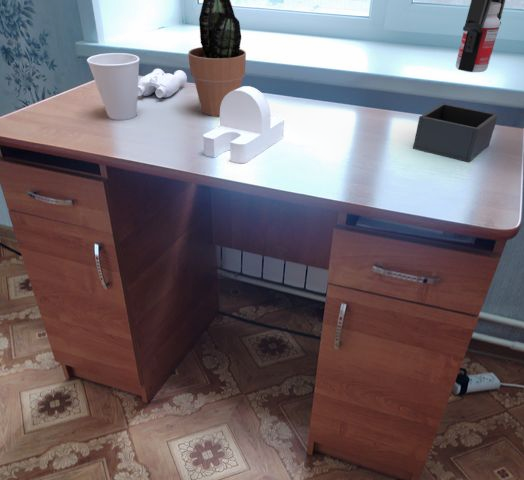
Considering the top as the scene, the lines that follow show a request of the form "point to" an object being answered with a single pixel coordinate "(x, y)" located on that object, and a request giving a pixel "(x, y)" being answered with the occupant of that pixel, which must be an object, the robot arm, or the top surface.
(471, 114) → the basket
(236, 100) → the bracket
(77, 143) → the top surface
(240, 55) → the potted plant
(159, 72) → the binoculars
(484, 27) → the pill bottle
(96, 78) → the cup
